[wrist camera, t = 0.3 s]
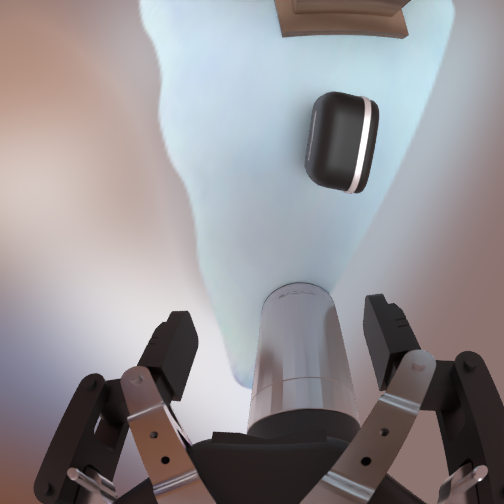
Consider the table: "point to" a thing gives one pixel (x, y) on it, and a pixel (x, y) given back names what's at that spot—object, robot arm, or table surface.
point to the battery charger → (342, 141)
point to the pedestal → (342, 17)
